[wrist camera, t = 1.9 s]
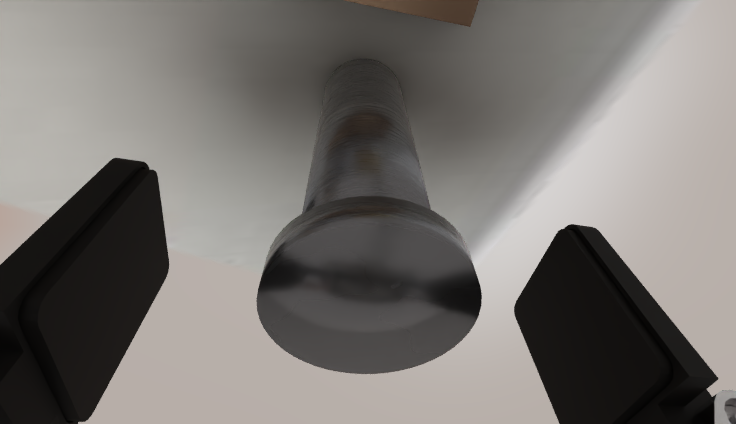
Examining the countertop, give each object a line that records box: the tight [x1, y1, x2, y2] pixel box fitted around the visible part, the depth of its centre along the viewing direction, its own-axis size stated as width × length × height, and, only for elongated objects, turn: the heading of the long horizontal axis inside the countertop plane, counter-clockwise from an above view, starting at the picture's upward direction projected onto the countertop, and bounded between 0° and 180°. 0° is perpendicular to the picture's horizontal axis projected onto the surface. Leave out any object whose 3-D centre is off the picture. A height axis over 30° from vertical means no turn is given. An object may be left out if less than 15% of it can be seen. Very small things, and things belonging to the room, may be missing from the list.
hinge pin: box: [257, 59, 482, 374], centre depth 11 cm, size 4×4×10 cm
